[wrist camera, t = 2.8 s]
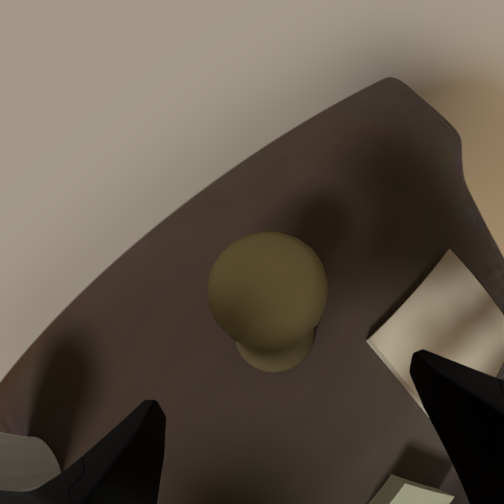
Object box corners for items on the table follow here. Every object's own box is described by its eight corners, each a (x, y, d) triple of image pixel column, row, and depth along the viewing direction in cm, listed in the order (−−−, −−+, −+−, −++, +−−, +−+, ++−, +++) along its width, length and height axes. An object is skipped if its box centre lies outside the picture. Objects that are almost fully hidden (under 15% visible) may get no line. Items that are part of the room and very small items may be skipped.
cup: (33, 415, 17) (-57, 397, 6) (76, 474, 14) (-21, 483, 4) (15, 452, 14) (-62, 443, 4) (54, 506, 11) (-26, 516, 1)
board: (510, 337, 16) (516, 335, 15) (445, 438, 13) (451, 439, 12) (445, 253, 21) (449, 248, 20) (365, 341, 19) (369, 338, 18)
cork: (302, 381, 18) (325, 372, 8) (224, 358, 19) (164, 324, 10) (322, 305, 20) (354, 225, 11) (248, 287, 22) (219, 198, 12)
